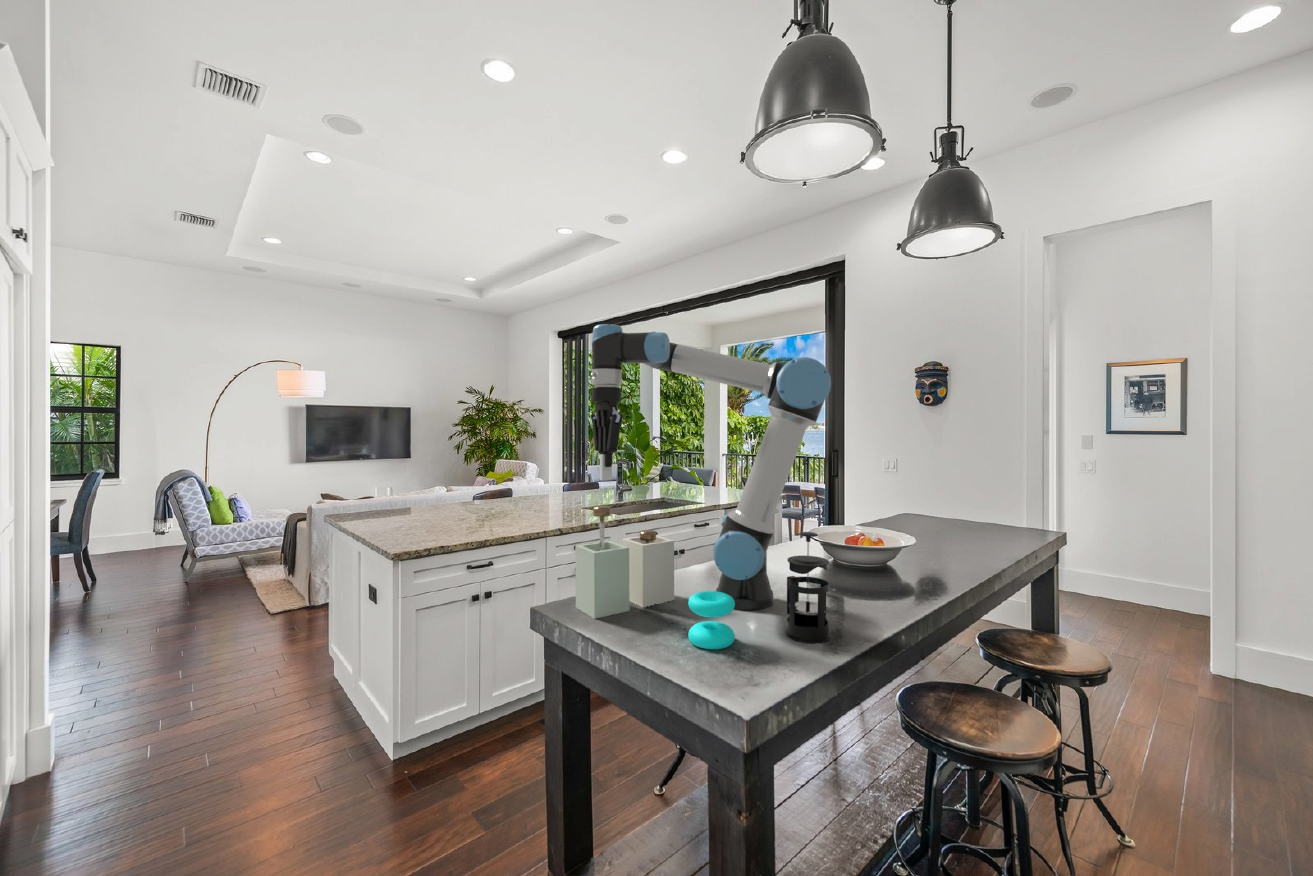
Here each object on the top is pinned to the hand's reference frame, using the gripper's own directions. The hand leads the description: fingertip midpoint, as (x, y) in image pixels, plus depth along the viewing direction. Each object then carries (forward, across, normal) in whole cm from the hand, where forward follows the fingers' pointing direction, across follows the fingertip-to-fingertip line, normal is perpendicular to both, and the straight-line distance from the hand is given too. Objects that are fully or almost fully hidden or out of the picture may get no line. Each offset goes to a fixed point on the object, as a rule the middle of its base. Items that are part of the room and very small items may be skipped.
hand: (605, 479), depth 141 cm
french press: (+32, +41, +29) cm, 60 cm away
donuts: (+33, +33, +9) cm, 47 cm away
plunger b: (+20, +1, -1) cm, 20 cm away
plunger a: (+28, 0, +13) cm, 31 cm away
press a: (+33, 0, +13) cm, 35 cm away
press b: (+33, +1, -1) cm, 33 cm away
